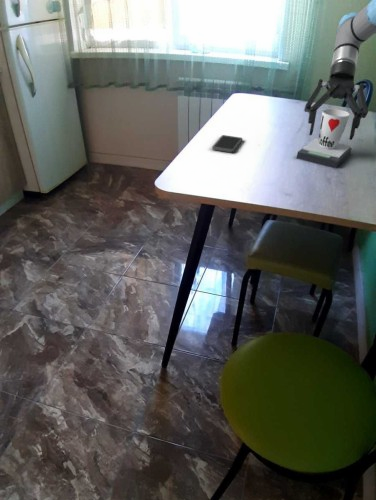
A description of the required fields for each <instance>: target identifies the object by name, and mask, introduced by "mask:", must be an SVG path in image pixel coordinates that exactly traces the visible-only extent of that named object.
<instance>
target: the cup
mask: <svg viewBox="0 0 376 500" xmlns="http://www.w3.org/2000/svg"><path fill="white" fill-rule="evenodd" d="M321 112H322V113H321V119H320V124H319V130H318V131H319V132H318V139H319V146H320V147H321V148H324V149H334V148H335V147H336V146H337V144H338V143H340V141H341V138H342V137H343V135H344V133H345V132H344V131H345V130H346V127H347V123H348V121H349V118H350V115H351V113H350V112H348V111H346V110H343V109H338V108H325V109H323V110H322V111H321Z"/></svg>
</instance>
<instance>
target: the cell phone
mask: <svg viewBox="0 0 376 500" xmlns="http://www.w3.org/2000/svg"><path fill="white" fill-rule="evenodd" d="M242 141H243V137H239V136H233V135H227V134H226V135H225V134H224V135H223V134H222V135H221V136H220V137H219V138H218V140H217V141H216V142H215V143H214V144H213V145H212V146H211V147H212V148H211V149H212V150H213V151H217V152H218V151H219V152H225V153H230V154H231V153H234V152H236V150H237V149H238V147H239V146H240V145H241V143H242Z"/></svg>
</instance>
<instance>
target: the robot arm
mask: <svg viewBox="0 0 376 500" xmlns="http://www.w3.org/2000/svg"><path fill="white" fill-rule="evenodd" d="M375 34H376V0H370V2H368V4H367V5H365V6H364V7H363V8H362V9H361V10H360V11H359V12H352V11H351V12H350V13H347V14H344V16H342V17H341V19H340V20H339V23H338V27H337V30H336V37H335V41H334V48H333V55H332V60H331V65H330V71H329V77H328V80H327V81H324V80H323V78H320V79H318V81H317V85H316V88H315V89H314V91H313V92H312V94H311V95H310V97H309V99H308V100H307V102H306V104H305V106H304V109H303V112H304V113H308V119H307V123H308V124H310V129H309V136H312V135H313V132H314V128H315V124H316V123H315V122H316V117H317V113H318V110H319V109H320V108H321V107H322V106H323V105H324V103H326V102H327V101H328V100H330V99H331V98H332V99H339V100H343V99H344V101H345V103H346V104H347V105H348V107H349V109H350V110H351V112H352V114H353V118H352V123H351V127H350V128H351V129H350V134H349V138H348V139H349V140H350V141H352V140H353V139H354V137H355V134H356V129H359V126H360V124H361V119H365V118H366V117H367V115H368V113H369V109H368V105H367V100H366V97H365V93H364V87H365V84H364V83H363V82H361V83H359V84H355V75H356V70H357V65H358V64H357V63H358V58H359V54H360V47H361V45H362V44H363V43H364V42H366V41H367V40H369V38H371V37H372V36H374V35H375ZM324 88H326V92H325V93H324V94H323V95H322V96H321V97H320V98H319V99H318V100H317V101H316V102H315V100H316V99H317V97H318V96H319V94H320V92H321V91H322V90H323V89H324ZM353 91H354V92H355V95H356V98H357V101H356V99H355V97H354V95H353ZM314 102H315V103H314Z"/></svg>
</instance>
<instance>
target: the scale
mask: <svg viewBox="0 0 376 500" xmlns="http://www.w3.org/2000/svg"><path fill="white" fill-rule="evenodd" d="M352 149H353V148H352V146H351V145H349V144H344V143H341V142H338V144H337V146H336V147H335V148H334V149H324V148H321V147H320V146H319V137H315V138H314V139H312V140H311V141H310V142H308V143H307V144H306V145H304V146H303V147H302V148H301V149H300V150H298V151H297V154H296V159H298V160H302V161H306V162H309V163H315V164H319V165H322V166H326V167H330V168H333V169H334V168H335V169H337V168H338V167H339V166H340V165H341V164H342V163H343V162H344V160H346V159H347V158H348V157H349V156H350V155H351V153H352Z"/></svg>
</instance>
